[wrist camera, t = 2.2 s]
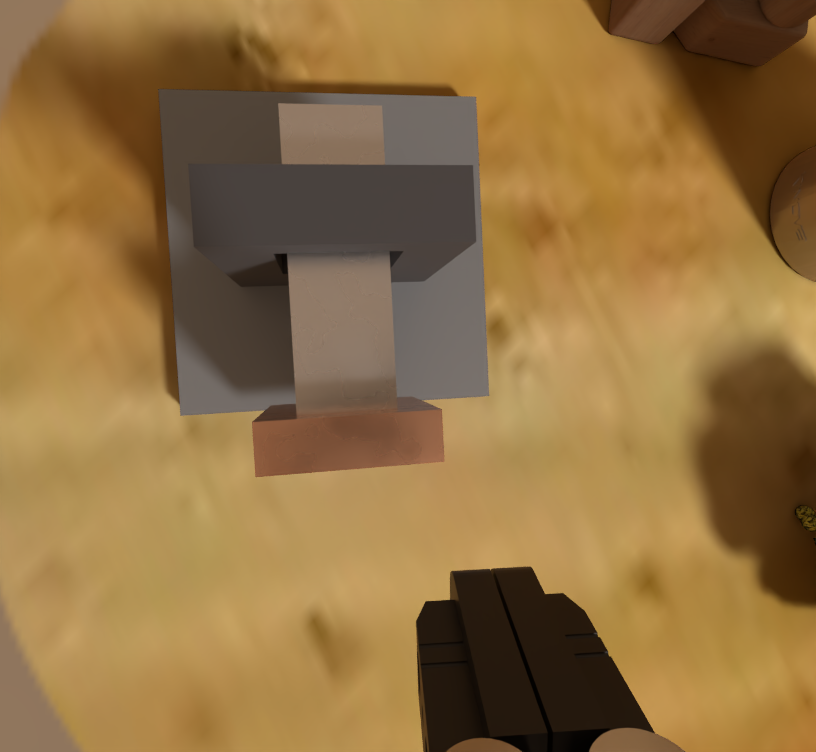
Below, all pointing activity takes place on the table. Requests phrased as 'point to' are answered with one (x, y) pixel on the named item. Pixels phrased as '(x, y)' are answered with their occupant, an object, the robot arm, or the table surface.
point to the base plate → (270, 305)
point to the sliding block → (341, 332)
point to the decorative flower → (806, 518)
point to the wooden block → (716, 25)
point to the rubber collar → (330, 216)
